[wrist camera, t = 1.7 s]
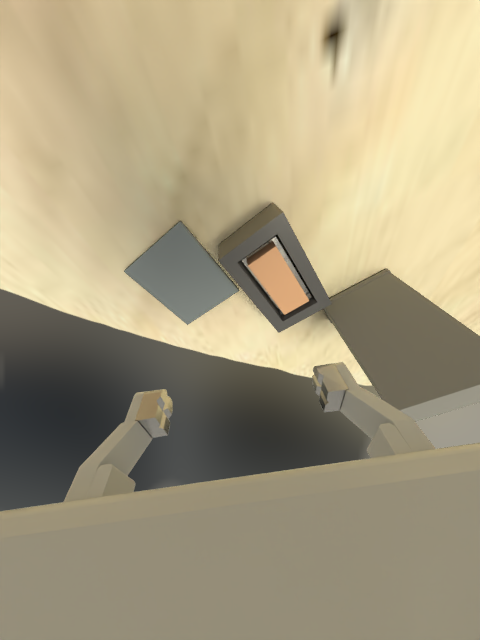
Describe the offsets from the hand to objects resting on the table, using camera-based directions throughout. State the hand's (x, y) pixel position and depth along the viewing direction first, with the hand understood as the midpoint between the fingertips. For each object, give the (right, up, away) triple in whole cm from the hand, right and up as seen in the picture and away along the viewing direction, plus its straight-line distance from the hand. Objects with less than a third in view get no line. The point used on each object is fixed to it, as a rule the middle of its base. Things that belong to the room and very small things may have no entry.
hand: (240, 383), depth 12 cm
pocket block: (+6, +14, +28) cm, 32 cm away
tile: (+6, +11, +25) cm, 28 cm away
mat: (-11, +11, +29) cm, 33 cm away
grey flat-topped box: (+25, +9, +34) cm, 43 cm away
